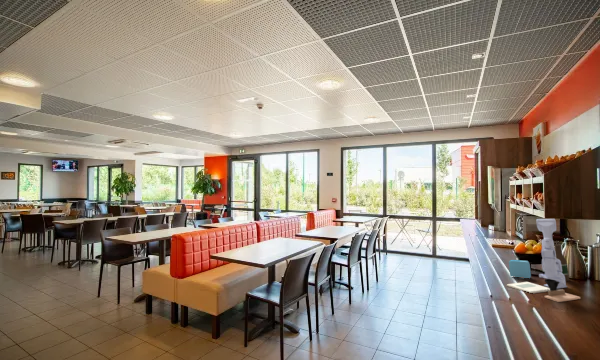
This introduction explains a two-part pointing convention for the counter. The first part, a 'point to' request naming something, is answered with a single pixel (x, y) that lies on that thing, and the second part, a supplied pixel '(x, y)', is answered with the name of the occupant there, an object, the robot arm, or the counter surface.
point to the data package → (519, 268)
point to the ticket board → (529, 287)
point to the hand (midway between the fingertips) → (553, 292)
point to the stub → (560, 296)
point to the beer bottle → (562, 261)
